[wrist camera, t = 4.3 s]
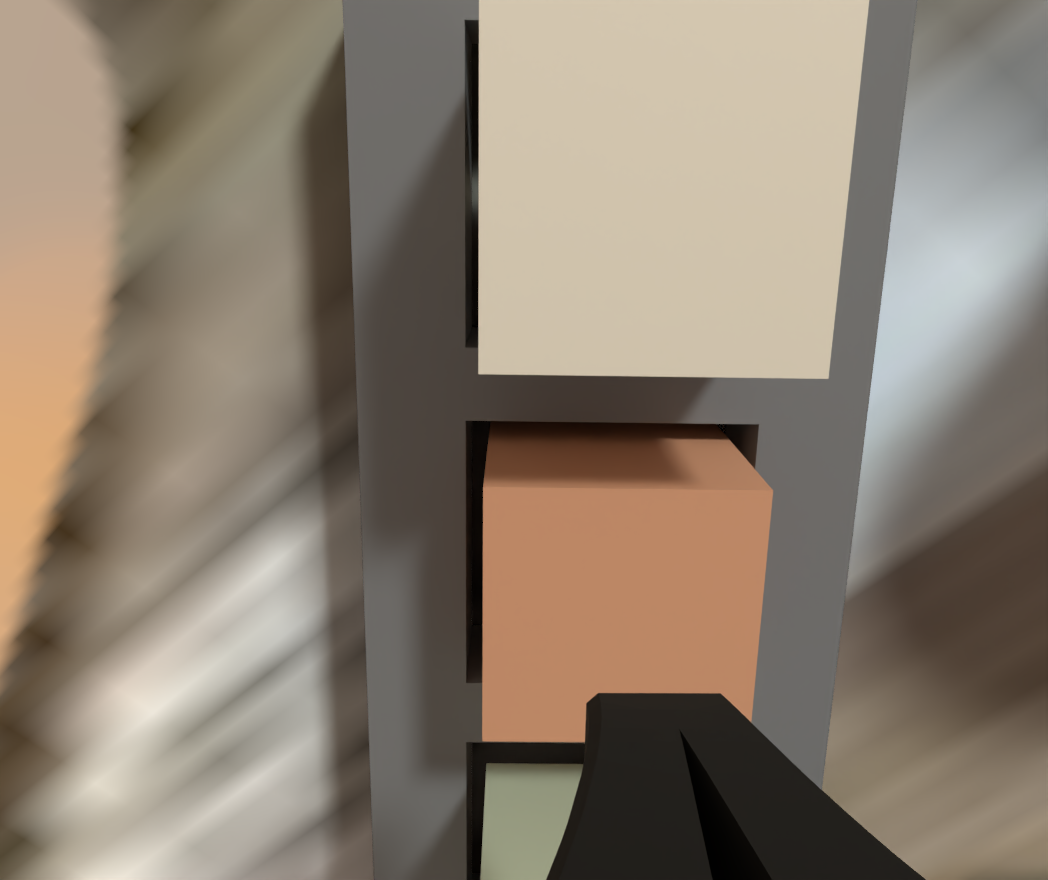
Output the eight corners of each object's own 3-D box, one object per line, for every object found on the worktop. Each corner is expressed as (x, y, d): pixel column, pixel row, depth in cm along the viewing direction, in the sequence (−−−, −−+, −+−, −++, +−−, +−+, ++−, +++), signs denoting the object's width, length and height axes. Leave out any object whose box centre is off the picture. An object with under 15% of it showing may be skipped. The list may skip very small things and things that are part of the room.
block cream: (745, 329, 15) (828, 378, 11) (488, 325, 15) (478, 373, 11) (768, 51, 14) (870, -5, 10) (489, 46, 14) (479, -13, 10)
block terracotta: (698, 624, 19) (749, 743, 15) (489, 622, 19) (482, 741, 15) (713, 421, 18) (773, 490, 14) (490, 419, 18) (482, 486, 14)
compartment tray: (767, 906, 22) (797, 992, 19) (392, 904, 21) (378, 990, 19) (864, -4, 16) (921, -36, 14) (366, -13, 16) (341, -46, 14)
